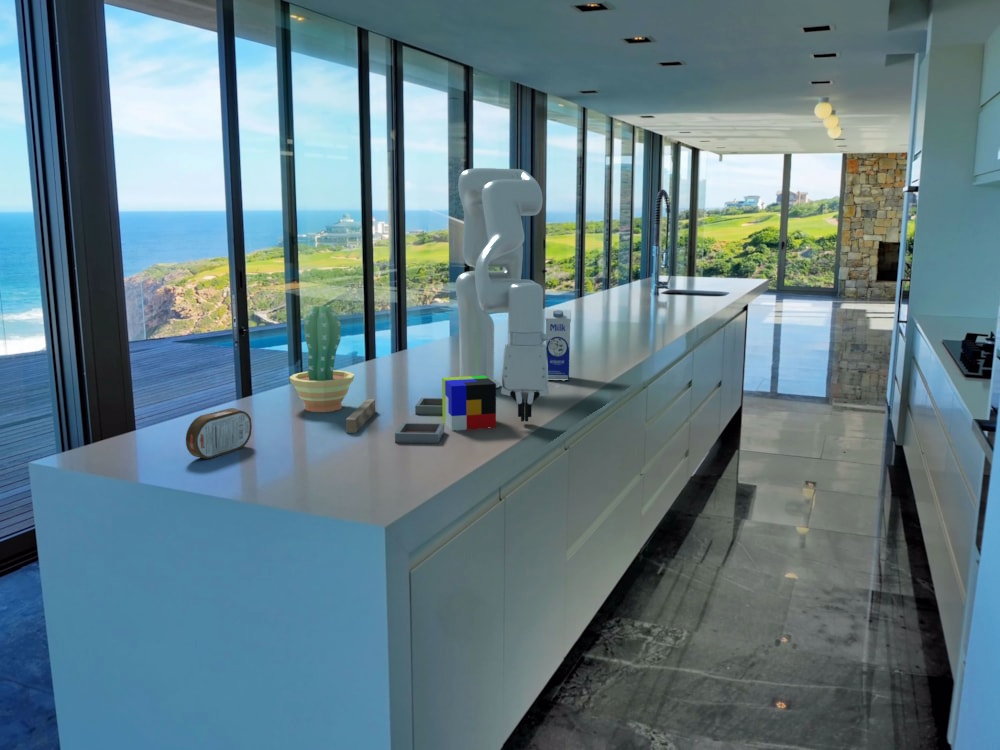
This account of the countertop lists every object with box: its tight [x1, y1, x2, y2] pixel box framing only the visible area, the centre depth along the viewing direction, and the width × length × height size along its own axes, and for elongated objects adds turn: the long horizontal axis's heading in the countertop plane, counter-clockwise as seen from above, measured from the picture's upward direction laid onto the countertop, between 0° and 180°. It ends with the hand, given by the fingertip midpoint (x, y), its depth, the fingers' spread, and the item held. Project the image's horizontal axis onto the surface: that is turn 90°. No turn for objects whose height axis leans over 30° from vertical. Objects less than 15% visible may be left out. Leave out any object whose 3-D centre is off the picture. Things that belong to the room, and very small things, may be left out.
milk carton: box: [545, 308, 572, 380], centre depth 234 cm, size 7×7×20 cm
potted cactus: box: [288, 304, 355, 413], centre depth 197 cm, size 15×15×25 cm
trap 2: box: [414, 397, 443, 416], centre depth 197 cm, size 9×9×2 cm
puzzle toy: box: [441, 376, 497, 432], centre depth 183 cm, size 10×10×10 cm
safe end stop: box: [345, 398, 376, 434], centre depth 185 cm, size 20×2×3 cm, turn 176°
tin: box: [185, 407, 253, 460], centre depth 160 cm, size 15×3×8 cm, turn 152°
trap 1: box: [394, 422, 445, 445], centre depth 172 cm, size 9×9×2 cm
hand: (524, 420), depth 183 cm, fingers closed
